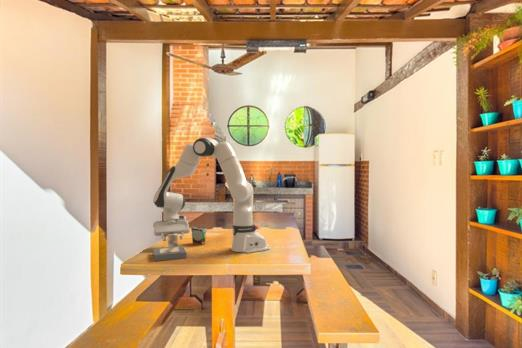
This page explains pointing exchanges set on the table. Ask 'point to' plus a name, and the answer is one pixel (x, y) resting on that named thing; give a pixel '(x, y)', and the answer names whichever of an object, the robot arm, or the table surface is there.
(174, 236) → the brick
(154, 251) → the base block
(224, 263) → the table surface
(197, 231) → the food container
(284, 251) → the table surface
